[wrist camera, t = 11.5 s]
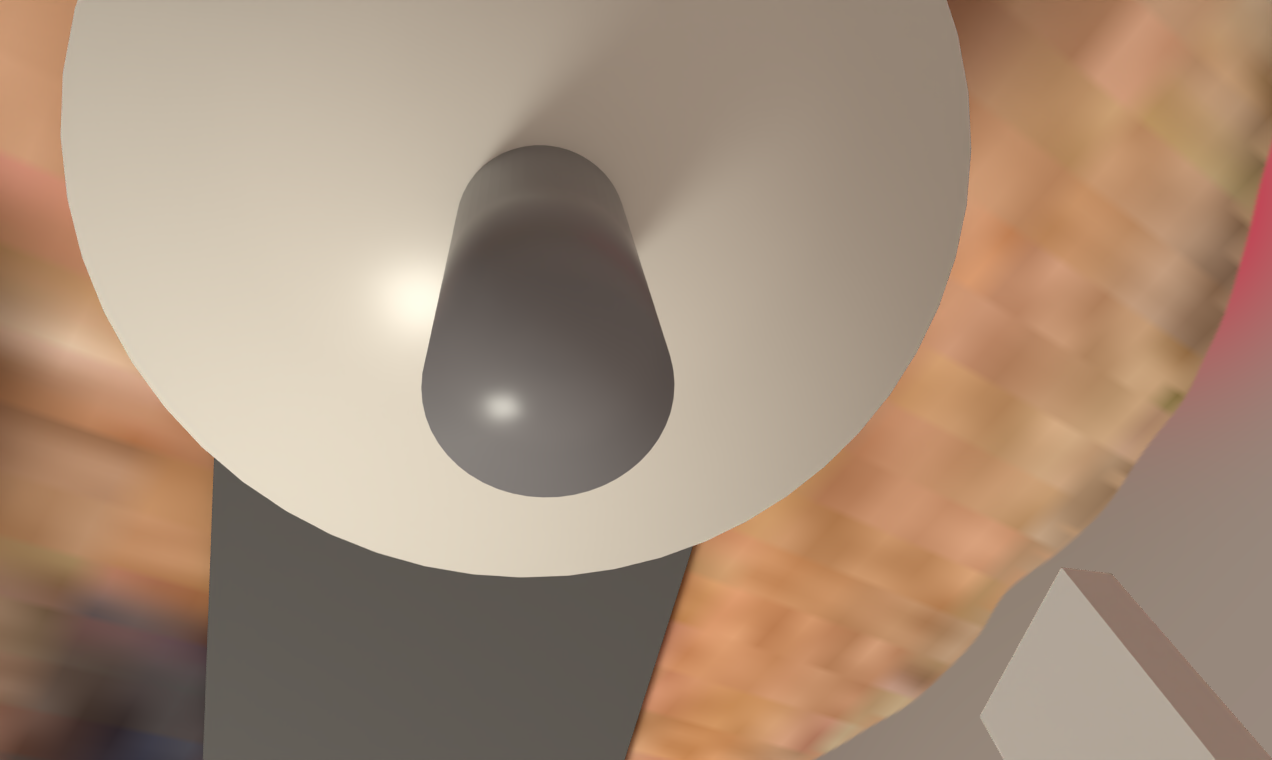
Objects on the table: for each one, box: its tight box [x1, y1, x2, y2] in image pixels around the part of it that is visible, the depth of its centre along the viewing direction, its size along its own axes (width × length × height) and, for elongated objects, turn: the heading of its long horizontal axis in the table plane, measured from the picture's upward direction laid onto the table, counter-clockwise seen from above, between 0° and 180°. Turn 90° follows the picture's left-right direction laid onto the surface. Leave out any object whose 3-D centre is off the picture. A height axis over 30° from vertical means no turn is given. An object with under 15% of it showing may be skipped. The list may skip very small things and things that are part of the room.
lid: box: [61, 0, 971, 577], centre depth 21 cm, size 23×23×10 cm
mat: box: [203, 458, 693, 760], centre depth 46 cm, size 22×22×1 cm
